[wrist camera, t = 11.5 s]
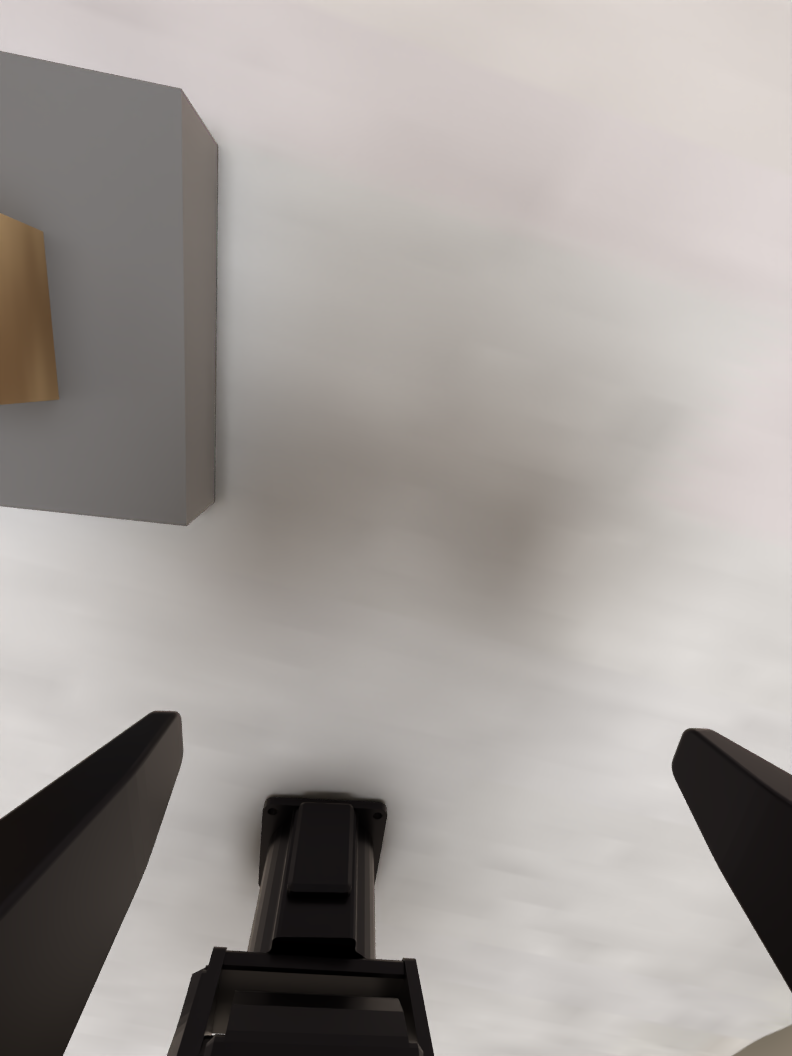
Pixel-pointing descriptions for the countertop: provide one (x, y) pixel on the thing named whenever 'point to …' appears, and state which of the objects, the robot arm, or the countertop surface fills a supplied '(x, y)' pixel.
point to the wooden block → (25, 317)
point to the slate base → (114, 293)
